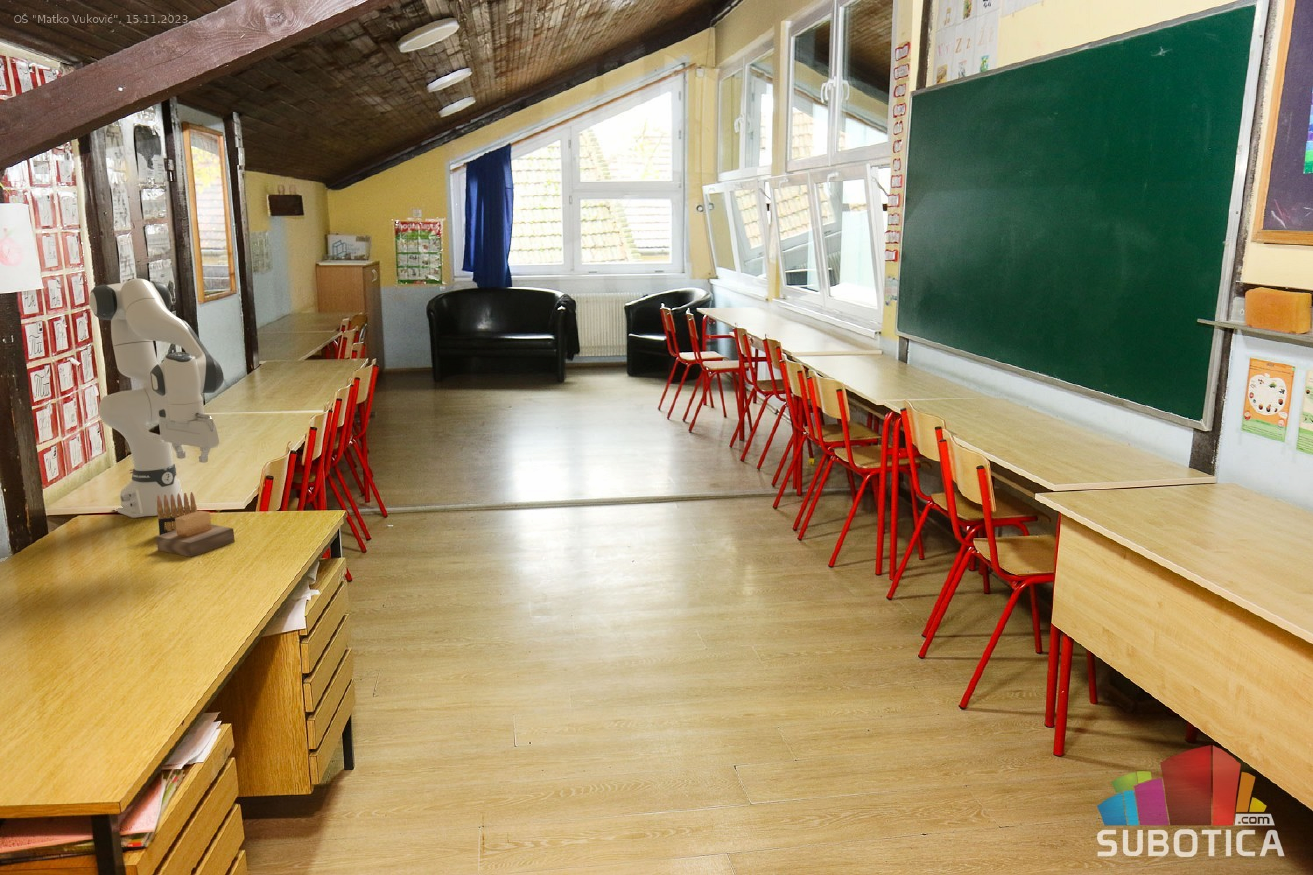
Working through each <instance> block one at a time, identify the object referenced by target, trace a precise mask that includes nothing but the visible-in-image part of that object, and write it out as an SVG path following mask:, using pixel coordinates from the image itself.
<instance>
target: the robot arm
mask: <svg viewBox="0 0 1313 875" xmlns="http://www.w3.org/2000/svg"><path fill="white" fill-rule="evenodd" d="M88 299H89V308H90V309H91V311H92V313H93V315H94V316H95V317H96V318H98V319H99V320H104V321H110V332H111V334H110V335H111V341H112V342H111V343H112V347H113V348H112V349H113V352H114V356H115V363H116V366H117V367H116V368H117V370H118V371H119V373H120V374H121V375H123V377H126V378H129V379H130V378H131V379H132V380H135V381H138V382H139V383H140V384H141V385H142V388H139V389H130V390H123V391H122V390H121V391H118V392H114V393H111V394H107V395H105V396H103V397H102V398H101V400H100V402H99V404H98V410H97V411H98V415H99V417H100V419H101V421H102V422H103V423H104V424H105V425H106V426H108V427H110V428H112V429H114V430H115V431H117V432H118V433H120V434H121V435H122V437H124V438H125V440H126V442H127V443H128V446H129V449H130V453H131V458H132V462H133V469H129V471H130V472H129V474H131V480H130V482H129V483H128V484H126V486H125V487H124V488H122V490H121V491H120V492H119V493H120V494H119V497H120V498H119V499H120V504H121V506H122V507H123V508H118V509H116V510H117V511H118V512H117V513H119V514H122V515H125V516H126V517H129V518H132V519H135V518H136V519H137V518H141V517H142V518H143V517H153V516H158V513H157V496H158V495H159V497H160V499H161V502H162V507H163V511H164V495H166V496H167V499H168V503H169V507H170V512H171V494H173V496H174V499H175V503H176V507H177V506H178V505H177V495H178V493H179V494H180V496H181V500H182V505H183V508H184V493H183V490H182V485H181V480H180V479H179V478H177V468H176V464H175V463H174V460H173V459H174V458H173V457H174V456H173V452H172V448H173V450H174V451H175V453H176V454H175V455H176V458H177V459H179V460H182V459H186V451H185V450H183V447H182V445H184V446H189V447H196V448H199V451H200V452H201V453H200V455H198V461H199V463H202V464H203V463H204V464H205V463H208V461H209V455H210V451H211V449H213V448H217V447H218V446H219V445H220V437H219V433H218V432H219V431H218V429H217V425H216V423H215V422H214V419H213V418H212V417H211V416H210V414H205V407H204V406H205V404H204V398H203V395H202V394H214V393H215V392H217V390H219V389H220V388H221V386H222V385H223V383H224V380H225V378H224V372H223V368H222V367H221V365H220V363H219V362H218V361H217V360H216V359H215V358H214V357H213V356H212V355H211V354H210V352H209V351H208V349H207V348H206V347H205V345H204V344H203V343H202V341H201V339H200V338H199V336H198V335H197V333H196V332H195V331H194V330H193V328H192V327H191V326H190V324H188V322H187V321H185V320H184V319H181V318H179V317H177V315H174V314H173V313H172V312H171V311H170V310H171V308H172V302H173V300H172V295H171V292H170V290H169V287H168V286H167V285H166V284H165V283H164V282H161V281H155V280H151V281H149V280H148V279H144V278H132V279H130V280H127V281H126V282H120V283H111V284H105V283H104V284H100V285H97V286H94V287H93V288H92V289H91V290H90V295H89V298H88ZM154 341H155V342H161V343H168V344H172V345H176V346H178V347H180V348H182V349H183V350H184V351H185V352H184V351H175V352H171V353H168V354H166V355H165V356H164V357H163V362H161V363H159V362H158V357H157V354H156V350H155V345H154ZM156 423H157V424H158V425H159V434H158V433H154V432H151V431H150V430H149V428H148V425H150V424H156ZM177 512H178V510H177Z"/></svg>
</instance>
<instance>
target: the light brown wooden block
mask: <svg viewBox="0 0 1313 875" xmlns="http://www.w3.org/2000/svg"><path fill="white" fill-rule="evenodd" d="M175 522H176V530H177V536H182V537H190V536H193V535H196V534H199V533H202V532H205V531H208V530H211V529H212V527H211V524H212V519H211V512H210V511H206V510H205V511H204V510H197V512H194V513H190V514H187V515H185V514H184V516H181V517H177V518H175Z"/></svg>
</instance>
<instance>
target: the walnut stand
mask: <svg viewBox="0 0 1313 875" xmlns="http://www.w3.org/2000/svg"><path fill="white" fill-rule="evenodd" d="M211 527H212V529H211V530H208V531H205V532H202V533H199V534H196V535H193V536H190V537H182V536H177V530H174V531H171V532H168V533H165V534H162V535H160V534H159V535H156V536H155V540H156V547H157V550H158V551H161V552H166V553H170V554H175V555H179V556H185V557H189V558H193V557H196V556H199V555H202V554H204V553H207V552H210V551H213V550H216V549H219V548H221V547H223V546H226V545H229V544H232V543H235V542H236V540H235V532H234V527H229V526H222V525H217V524H212V523H211Z"/></svg>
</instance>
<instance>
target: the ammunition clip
mask: <svg viewBox="0 0 1313 875" xmlns="http://www.w3.org/2000/svg"><path fill="white" fill-rule="evenodd" d="M183 498H184V508H183V505H182V500H181V496H180V494H179V493H178V495H177V505H178V506H177V507H176V503H175V499H174V496H173V494H171V512H170V507H169V503H168V499H167V496H166V495H164V511H163V507H162V502H161V499H160V497H159V495H158V496H157V513H158V515H157V518H158V519H157V520H158V531H159V532H158V533H159V535H162V534H165V533H168V532H171V531H174V530H176V522H175V518H177V517H181V516H184V515H187V514H190V513H194V512H197V511H198V508H197V504H196V500H195V495H194V493H193V491H191V492H190V497H188V495H187V493H186V492H184V493H183ZM189 499H190V500H189ZM189 501H190V502H189ZM177 510H178V511H177Z"/></svg>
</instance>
